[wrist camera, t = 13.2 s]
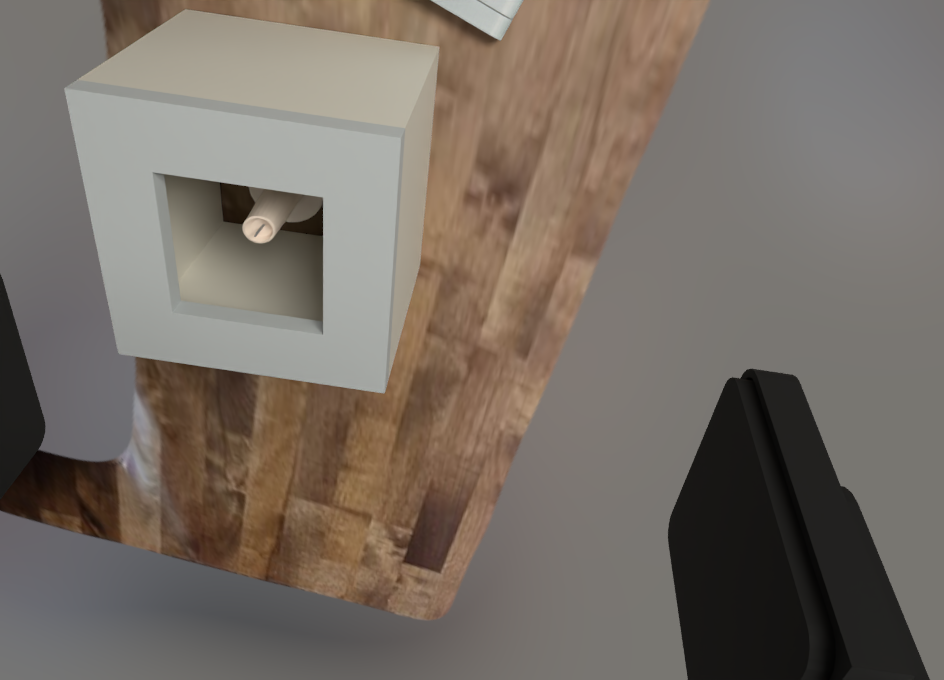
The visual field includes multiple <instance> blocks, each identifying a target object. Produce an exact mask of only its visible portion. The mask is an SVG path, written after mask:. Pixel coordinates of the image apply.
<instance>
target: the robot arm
mask: <svg viewBox="0 0 944 680" xmlns="http://www.w3.org/2000/svg"><path fill="white" fill-rule="evenodd" d="M44 434H45V421H44V417H43V414H42V410H41V407H40V403H39V400H38V397H37V393H36V390H35V386H34V383H33V380H32V376H31V373H30V370H29V366H28V363H27V359H26V356H25V353H24V349H23V346H22V343H21V339H20V336H19V333H18V329H17V326H16V323H15V319H14V316H13V312H12V309H11V306H10V302H9V299H8V296H7V292H6V289H5V286H4V282H3V279H2V277H1V275H0V499H1V498H2V496H3V495H4V494H5V492H6V491H7V490H8V488H9V487H10V486H11V485H12V483H13V482H14V481H15V479H16V478H17V477H18V475H19V474H20V473H21V471H22V470H23V469H24V467H25V466H26V465H27V463H28V462H29V461H30V460H31V458H32V457H33V456H34V454H35V453H36V452H37V450H38V449H39V447H40V446H41V443H42V441H43V438H44ZM668 542H669V550H670V557H671V564H672V571H673V578H674V585H675V592H676V598H677V606H678V613H679V619H680V626H681V634H682V640H683V648H684V654H685V662H686V669H687V676H688V680H930V679H929V677H928V675H927V672H926V670H925V667H924V665H923V662H922V660H921V657H920V655H919V652H918V650H917V647H916V645H915V642H914V640H913V638H912V635H911V633H910V630H909V628H908V625H907V623H906V620H905V618H904V615H903V613H902V611H901V608H900V606H899V603H898V601H897V598H896V596H895V594H894V591H893V588H892V586H891V584H890V582H889V579H888V576H887V574H886V571H885V569H884V566H883V564H882V561H881V559H880V557H879V554H878V552H877V549H876V547H875V545H874V542H873V539H872V537H871V534H870V532H869V529H868V527H867V525H866V522H865V520H864V517H863V515H862V512H861V510H860V507H859V505H858V503H857V501H856V500H855V498H854V496H853V494H852V493H851V492H850V491H849V490H848V489H846V488H845V487H842V486H840V483H839V481H838V479H837V476H836V473H835V471H834V468H833V465H832V463H831V460H830V458H829V456H828V453H827V450H826V448H825V445H824V443H823V440H822V438H821V435H820V432H819V430H818V427H817V425H816V422H815V420H814V417H813V415H812V412H811V410H810V407H809V404H808V402H807V399H806V397H805V394H804V392H803V390H802V387H801V384H800V382H799V380H798V379H797V377H795V376H794V375H789V374H783V373H777V372H769V371H763V370H756V369H749V370H746V371H745V372H744V373H743V375H742V377H741V379H739V378H730V379H729V380H728V381H727V382H726V384H725V386H724V388H723V391H722V393H721V396H720V398H719V401H718V403H717V405H716V408H715V410H714V413H713V415H712V417H711V420H710V422H709V425H708V427H707V429H706V432H705V434H704V437H703V439H702V441H701V444H700V447H699V449H698V451H697V454H696V456H695V458H694V461H693V463H692V466H691V468H690V470H689V473H688V475H687V478H686V480H685V483H684V485H683V487H682V490H681V492H680V495H679V497H678V499H677V502H676V505H675V507H674V509H673V512H672V514H671V517H670V522H669V529H668Z"/></svg>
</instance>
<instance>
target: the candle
mask: <svg viewBox="0 0 944 680" xmlns="http://www.w3.org/2000/svg"><path fill="white" fill-rule="evenodd" d="M248 188H249V191H250V194H251V196H252V198H253V200H254V201H255V205H254V206H253V208H252V210H251V212H250V213H249V215H248V217H247V219H246V220H245V221H244V223H243V226H242V230H243V233H244V235H245V236H246V237H247V238H248V239H249V240H250V241H252V242H255V243H266V242H269V241H270V240H272V239H273V238H274V236H275V235H276V234H277V232H278V231H279V230H280V228H281V227H282V225H283V224H284V223H285V222H301V221H304V220H307V219H309V218H311V217H312V216H314V215H315V214H316V213H317V212H318V210H319V209H320V208H321V206H322V203H323V197H317V196H310V195H303V194H296V193H289V192H283V191H276V190H269V189H262V188H256V187H249V186H248Z"/></svg>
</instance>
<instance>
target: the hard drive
mask: <svg viewBox="0 0 944 680" xmlns="http://www.w3.org/2000/svg"><path fill="white" fill-rule="evenodd" d="M431 1H432V2H434V3H436V4H438V5H439V6H441V7H443V8H444V9H446V10H448V11H449V12H451V13H453V14H454V15H456V16H458V17H460V18H461V19H463V20H465V21H466V22H468V23H470V24H472V25H473V26H475V27H476V28H478V29H480V30H482V31H483V32H485V33H487V34H488V35H490V36H492V37H494V38H496V39H498V40H500V41H501V40H502V38H503V36H504V34H505V32H506V31H507V29H508V27H509V25H510V23H511V22H512V19H513V18H514V16H515V15H516V13H517V11H518V9H519V7H520V5H521V4H522V2H523V0H431Z"/></svg>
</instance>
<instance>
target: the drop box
mask: <svg viewBox="0 0 944 680" xmlns="http://www.w3.org/2000/svg"><path fill="white" fill-rule="evenodd" d="M438 58H439V47H438V46H431V45H425V44H418V43H411V42H404V41H398V40H391V39H384V38H377V37H371V36H364V35H357V34H350V33H343V32H337V31H330V30H323V29H316V28H310V27H303V26H296V25H289V24H282V23H276V22H269V21H262V20H255V19H249V18H242V17H235V16H228V15H222V14H215V13H208V12H201V11H194V10H188V9H185V10H183V11H182V12H180V13H179V14H177V15H176V16H174V17H173V18H171V19H170V20H168V21H166V22H165V23H163V24H162V25H160V26H159V27H157V28H156V29H154V30H153V31H151V32H150V33H148V34H147V35H145V36H143V37H142V38H140V39H139V40H137V41H136V42H134V43H133V44H131V45H130V46H128V47H127V48H125V49H124V50H122V51H120V52H119V53H117V54H116V55H114V56H113V57H111V58H110V59H108V60H107V61H105V62H104V63H102V64H101V65H99V66H98V67H96V68H95V69H93V70H91V71H90V72H88V73H87V74H85V75H84V76H82V77H81V78H79V79H78V80H76V81H75V82H73V83H71V84H70V85H68V86H67V87H65V88H64V90H65V95H66V100H67V105H68V109H69V115H70V120H71V124H72V129H73V134H74V139H75V144H76V149H77V154H78V159H79V164H80V168H81V174H82V178H83V183H84V188H85V193H86V198H87V203H88V207H89V213H90V218H91V223H92V227H93V232H94V237H95V242H96V247H97V252H98V257H99V262H100V266H101V272H102V276H103V281H104V286H105V291H106V296H107V301H108V306H109V311H110V316H111V321H112V325H113V330H114V335H115V340H116V345H117V350H118V354H122V355H129V356H136V357H142V358H149V359H156V360H163V361H169V362H176V363H183V364H190V365H196V366H203V367H210V368H217V369H223V370H230V371H237V372H244V373H250V374H257V375H264V376H271V377H277V378H284V379H291V380H298V381H304V382H311V383H318V384H325V385H331V386H338V387H345V388H352V389H358V390H365V391H372V392H379V393H385V390H386V386H387V383H388V379H389V376H390V372H391V368H392V365H393V361H394V357H395V354H396V350H397V347H398V343H399V339H400V336H401V332H402V328H403V325H404V321H405V318H406V314H407V310H408V307H409V303H410V299H411V296H412V292H413V289H414V285H415V281H416V278H417V274H418V270H419V267H420V259H421V248H422V237H423V226H424V215H425V204H426V192H427V181H428V170H429V159H430V148H431V137H432V125H433V114H434V103H435V92H436V81H437V69H438ZM220 182H222V183H229V184H235V185H242V186H249V187H256V188H262V189H269V190H276V191H283V192H289V193H296V194H303V195H310V196H317V197H323V236H318V235H311V234H304V233H298V232H291V231H284V230H279V231H278V232H277V234H276V235H275V236H274V238H273V239H272V240H270V241H269V242H266V243H255V242H252V241H250V240H249V239H248V238H247V237H246V236H245V235H244V233H243V230H242V226H243V224H237V223H230V222H223V213H222V201H221V190H220Z"/></svg>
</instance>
